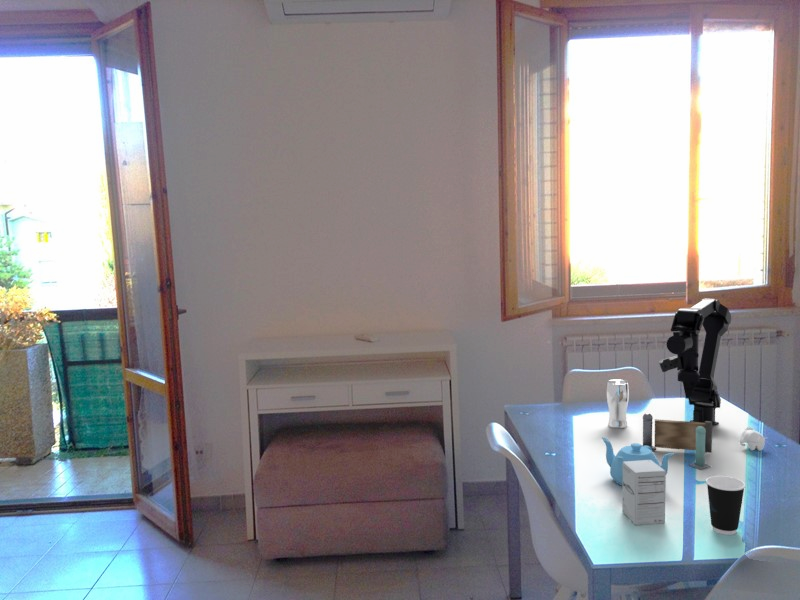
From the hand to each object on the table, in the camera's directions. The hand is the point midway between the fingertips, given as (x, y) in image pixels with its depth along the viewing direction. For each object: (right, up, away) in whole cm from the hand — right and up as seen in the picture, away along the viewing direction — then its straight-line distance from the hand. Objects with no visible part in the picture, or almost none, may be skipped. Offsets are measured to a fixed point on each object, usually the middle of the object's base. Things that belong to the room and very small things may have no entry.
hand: (687, 398), depth 215 cm
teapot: (-29, -17, -35) cm, 49 cm away
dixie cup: (-19, -20, -63) cm, 69 cm away
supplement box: (-34, -20, -56) cm, 68 cm away
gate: (-7, -13, -14) cm, 21 cm away
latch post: (-7, -15, -25) cm, 30 cm away
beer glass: (-18, -11, +13) cm, 25 cm away
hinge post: (-16, -14, -10) cm, 24 cm away
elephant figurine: (+14, -13, -13) cm, 23 cm away
